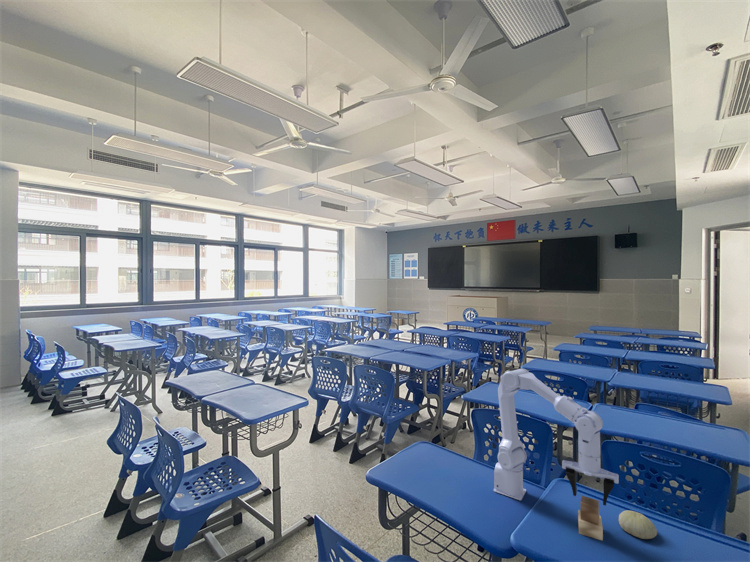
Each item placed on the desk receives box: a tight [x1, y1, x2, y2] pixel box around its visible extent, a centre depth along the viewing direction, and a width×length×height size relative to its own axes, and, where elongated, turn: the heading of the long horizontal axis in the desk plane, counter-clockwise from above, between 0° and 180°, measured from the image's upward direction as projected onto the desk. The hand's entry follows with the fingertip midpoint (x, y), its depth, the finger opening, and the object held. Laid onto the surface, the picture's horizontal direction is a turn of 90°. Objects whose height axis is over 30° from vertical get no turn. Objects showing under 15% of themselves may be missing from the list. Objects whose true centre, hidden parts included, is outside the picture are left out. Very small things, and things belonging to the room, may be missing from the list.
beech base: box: [577, 509, 604, 541], centre depth 104 cm, size 6×6×4 cm
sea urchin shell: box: [618, 509, 658, 540], centre depth 104 cm, size 9×8×8 cm
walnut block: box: [579, 495, 600, 525], centre depth 104 cm, size 4×4×5 cm
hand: (589, 499), depth 104 cm, fingers open, 7 cm apart
